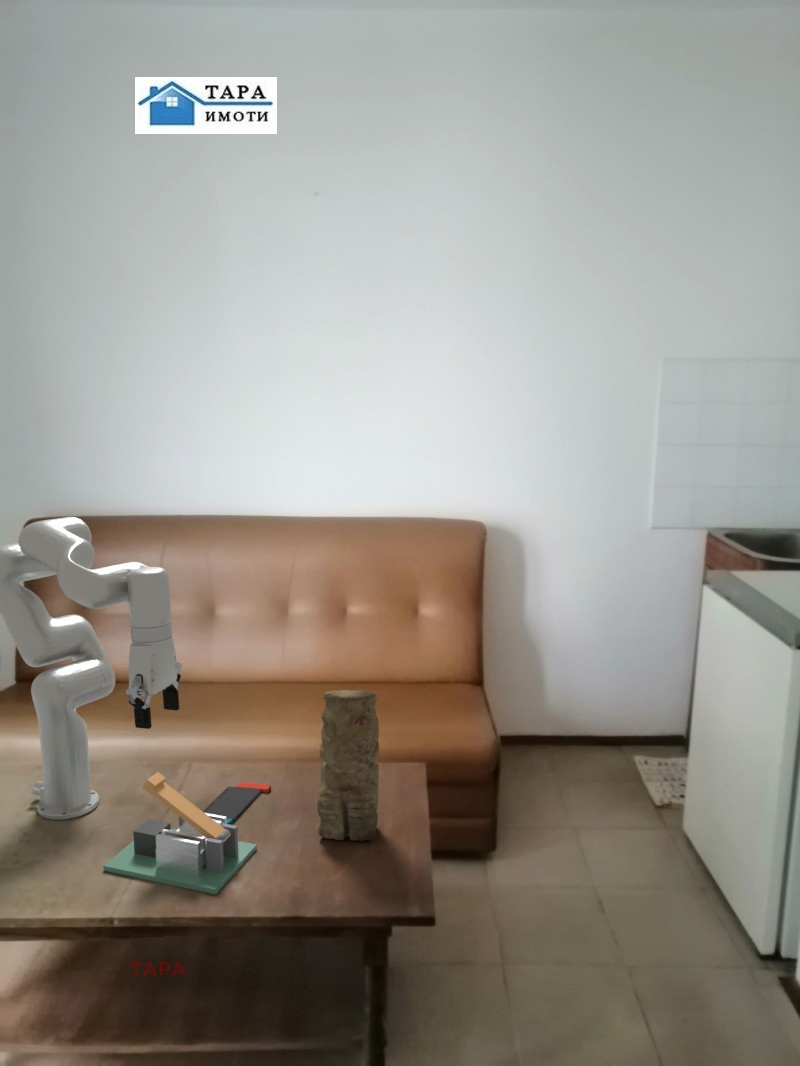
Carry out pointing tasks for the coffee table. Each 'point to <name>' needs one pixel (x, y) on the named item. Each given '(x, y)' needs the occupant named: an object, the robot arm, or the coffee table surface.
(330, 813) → the sculpture
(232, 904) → the coffee table surface
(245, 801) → the gaming console
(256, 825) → the coffee table surface
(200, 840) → the heat sink
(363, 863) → the coffee table surface
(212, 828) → the tan long bar
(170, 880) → the board
